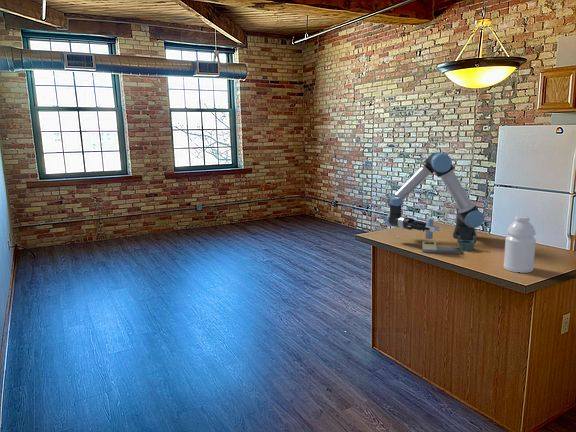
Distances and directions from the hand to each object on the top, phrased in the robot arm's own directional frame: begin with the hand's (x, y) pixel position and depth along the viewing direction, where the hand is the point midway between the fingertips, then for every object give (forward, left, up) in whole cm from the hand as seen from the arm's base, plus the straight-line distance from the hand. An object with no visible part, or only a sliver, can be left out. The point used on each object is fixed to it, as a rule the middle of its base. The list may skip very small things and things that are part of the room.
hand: (436, 229), depth 252 cm
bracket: (-18, -11, -15) cm, 26 cm away
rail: (-3, -3, -15) cm, 15 cm away
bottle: (-40, +24, -15) cm, 49 cm away
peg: (+4, -3, -6) cm, 8 cm away
